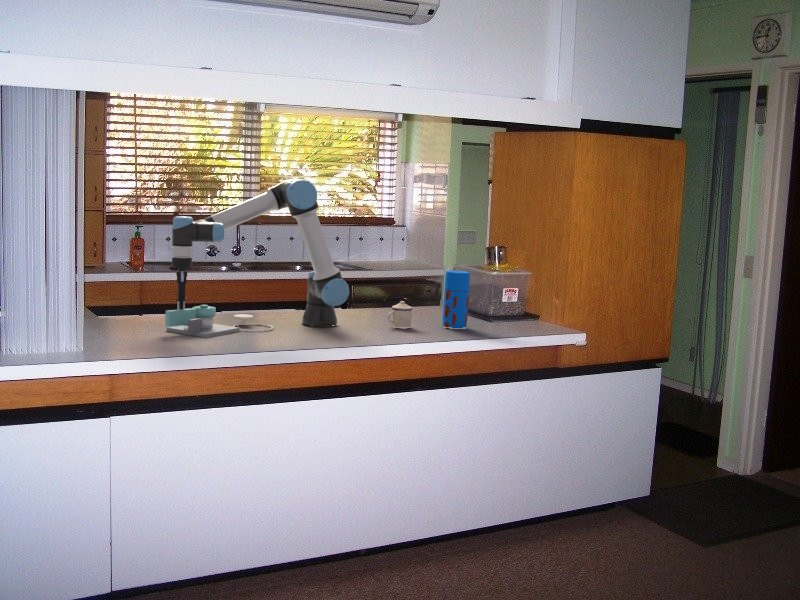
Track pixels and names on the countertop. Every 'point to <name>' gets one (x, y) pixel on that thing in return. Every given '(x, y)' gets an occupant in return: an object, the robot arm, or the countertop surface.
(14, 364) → the countertop surface
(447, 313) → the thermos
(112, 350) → the countertop surface
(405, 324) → the teacup with lid
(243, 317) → the hand towel holder
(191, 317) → the domed saucepan
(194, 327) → the post board
